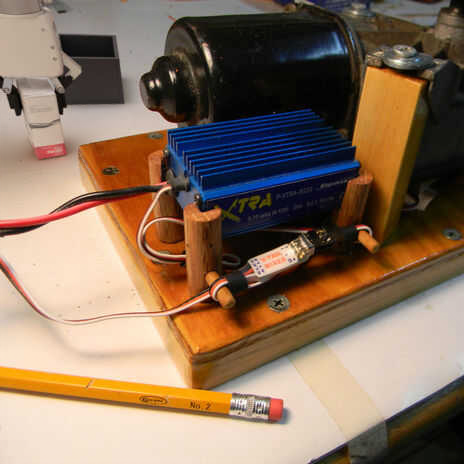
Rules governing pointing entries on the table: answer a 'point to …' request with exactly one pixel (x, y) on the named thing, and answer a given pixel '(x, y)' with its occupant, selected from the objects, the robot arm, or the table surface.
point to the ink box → (41, 116)
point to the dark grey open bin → (93, 69)
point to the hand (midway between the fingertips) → (40, 111)
